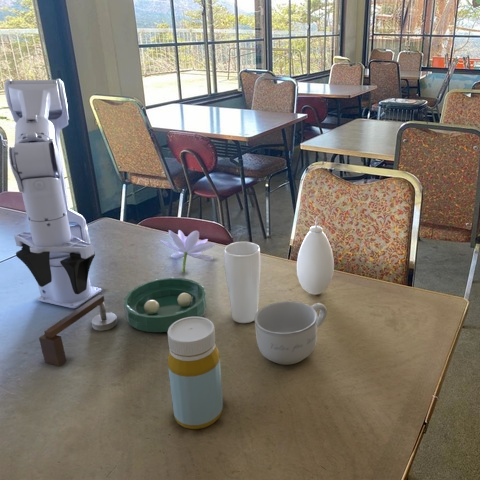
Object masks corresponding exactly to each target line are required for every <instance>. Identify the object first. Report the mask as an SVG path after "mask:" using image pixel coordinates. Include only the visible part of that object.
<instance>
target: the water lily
mask: <svg viewBox="0 0 480 480" xmlns="http://www.w3.org/2000/svg"><path fill="white" fill-rule="evenodd" d="M168 235H169V237H170V239H171V241H172V242H173V243H174V244H175V245H173V244H172V243H170V242H168V241H166V240H163V239H159V241H160V243H162V244H163V245H164V246H166V247H168V248H170V249H171V250H173V251H176V252H174V253H172V254H171V255H170V257H171V258H172V259H182V258H183V259H182V260H183V261H182V262H183V263H182V270H181V273H182V274H185V273H186V263H187V258H188V257H187V256H189V257H192V258H194V259H197V260H204V261H213V260H214V257H212V256H211V255H208V254H203V252H205V251H208V250H210V249H212V248H213V247H215V246H217V243H216V242H208V240H209V239H208V238H204V239H202V240H199V239H200V232H199V231H198V230H193V231H191V232H190V233H189V234H188V235H187V236H186V235H185V234H184V232H183V231H182V230H181V229H178V231H177V233H175V232H174V231H172V230H170V229H168Z"/></svg>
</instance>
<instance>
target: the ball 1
mask: <svg viewBox="0 0 480 480" xmlns="http://www.w3.org/2000/svg"><path fill="white" fill-rule="evenodd" d="M144 310H145V312H146V313H148V314H155V313H157V312H158V310H159V304H158V302H157V301H155V300H149V301H147V302H146V303H145V305H144Z"/></svg>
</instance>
